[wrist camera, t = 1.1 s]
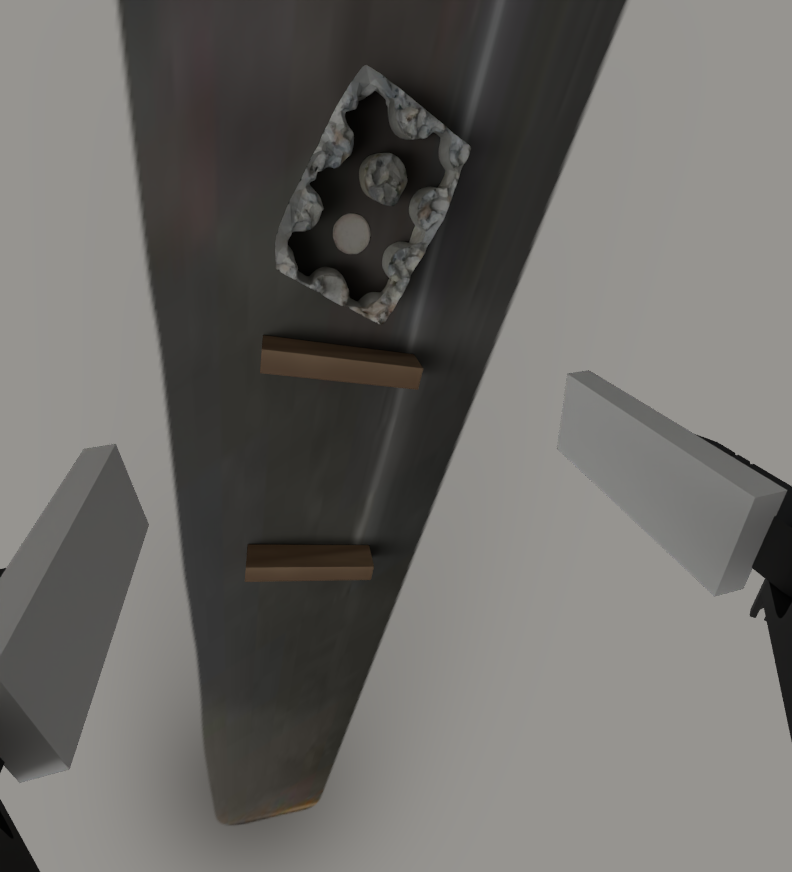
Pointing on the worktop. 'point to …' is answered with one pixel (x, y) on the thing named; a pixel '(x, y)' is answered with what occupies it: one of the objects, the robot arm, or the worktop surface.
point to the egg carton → (372, 196)
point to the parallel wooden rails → (334, 366)
